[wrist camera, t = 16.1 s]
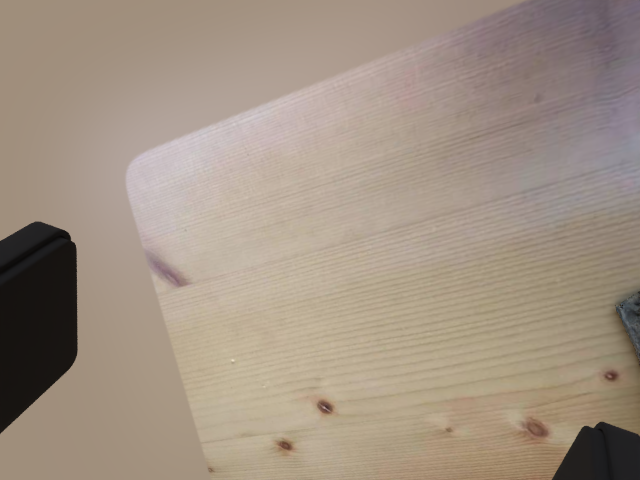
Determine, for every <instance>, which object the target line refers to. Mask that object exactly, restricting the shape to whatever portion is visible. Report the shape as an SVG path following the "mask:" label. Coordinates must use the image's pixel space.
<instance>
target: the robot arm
mask: <svg viewBox="0 0 640 480" xmlns="http://www.w3.org/2000/svg"><path fill="white" fill-rule="evenodd" d="M76 257H77V255H76V245H75V243H74V242H72V241H71V237H70V235H69V233H68V232H66V231H65V230H62V229H59V228H56V227H53V226H51V225H48V224H45V223H42V222H34V223H31V224H29V225H28V226H26V227H24V228H22V229H21V230H19V231H17V232H15V233H14V234H12V235H10V236H8V237H7V238H5V239H3V240H1V241H0V433H1V432H3V431H4V430H5V429H6V428H7V427H8V426H9V425H10V424H11V423H12V422H13V421H14V420H15V419H16V418H18V417H19V416H20V415H21V414H22V413H23V412H24V411H25V410H26V409H27V408H28V407H29V406H30V405H31V404H32V403H34V402H35V400H37V399H38V398H39V397H40V396H41V395H42V394H43V393H44V392H45V391H46V390H47V389H48V388H50V386H52V385H53V384H54V383H55V382H56V381H57V380H58V379H59V378H60V377H61V376H62V375H63V374H64V373H65V372H67V371H68V370H69V369H70V367H71V366H72V365H73V363H74V361H75V359H76V356H77V263H76V262H77V260H76V259H77V258H76ZM552 480H640V436H639V435H638V434H636V433H633V432H630V431H627V430H624V429H621V428H619V427H616V426H613V425H610V424H607V423H605V422H599V423H598V424H597V425H596V426H595V427H594V428H591V427H589V426H584V427H583V428H582V429H581V431H580V432H579V434H578V436H577V437H576V439H575V441H574V442H573V444H572V446H571V448H570V449H569V451H568V453H567V454H566V456H565V458H564V460H563V461H562V463H561V465H560V467H559V468H558V470H557V472H556V473H555V475H554V477H553V479H552Z"/></svg>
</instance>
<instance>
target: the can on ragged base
mask: <svg viewBox="0 0 640 480" xmlns="http://www.w3.org/2000/svg"><path fill="white" fill-rule="evenodd" d="M620 305H621V307H619V306H616V305H615V306H616V311H617V312H618V313H619V314H620V315H619V316H620V318H621V319H622V322H623V325H624V327H625V328H626V332H627V333H628V335H629V338H630V340H631V342H632V343H633V345H634V347H635V350H636V352H635V353H636V355H637V357H638V358H639V365H640V291H639V292H638V294H636V296H634V295H633V297H632V296H631V298H630V297H629V298H628V299H626V300H625V301H623V302H622V303H621V304H620ZM622 305H623V306H622Z"/></svg>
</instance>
